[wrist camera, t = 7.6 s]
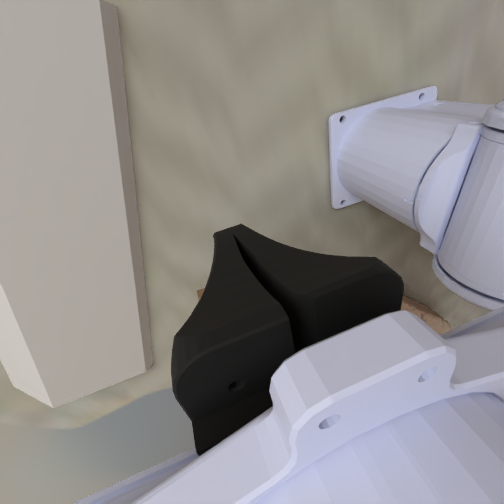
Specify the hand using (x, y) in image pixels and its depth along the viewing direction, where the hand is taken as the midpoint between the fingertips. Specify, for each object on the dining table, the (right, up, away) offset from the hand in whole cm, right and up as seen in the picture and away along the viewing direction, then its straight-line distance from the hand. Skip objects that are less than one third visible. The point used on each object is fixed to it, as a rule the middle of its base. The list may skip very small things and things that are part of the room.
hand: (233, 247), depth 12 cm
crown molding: (-14, +1, +9) cm, 16 cm away
